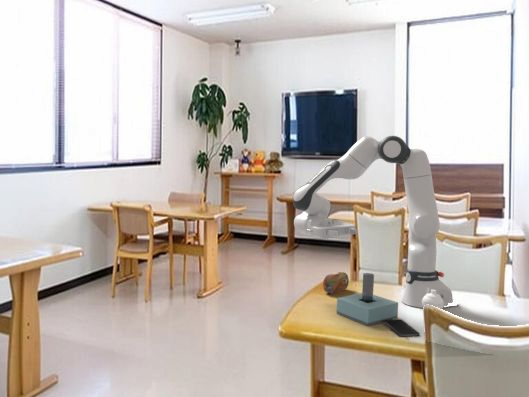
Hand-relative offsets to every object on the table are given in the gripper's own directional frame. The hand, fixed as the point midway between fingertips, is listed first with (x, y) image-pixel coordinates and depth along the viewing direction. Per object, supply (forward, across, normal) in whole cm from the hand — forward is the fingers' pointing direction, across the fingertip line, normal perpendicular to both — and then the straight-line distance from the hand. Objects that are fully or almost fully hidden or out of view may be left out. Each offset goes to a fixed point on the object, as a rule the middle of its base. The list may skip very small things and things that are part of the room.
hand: (347, 233), depth 196 cm
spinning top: (+30, +16, +30) cm, 45 cm away
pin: (+12, 0, +29) cm, 31 cm away
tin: (-19, +13, +30) cm, 38 cm away
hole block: (+12, 0, +30) cm, 32 cm away
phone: (+28, 0, +30) cm, 42 cm away
